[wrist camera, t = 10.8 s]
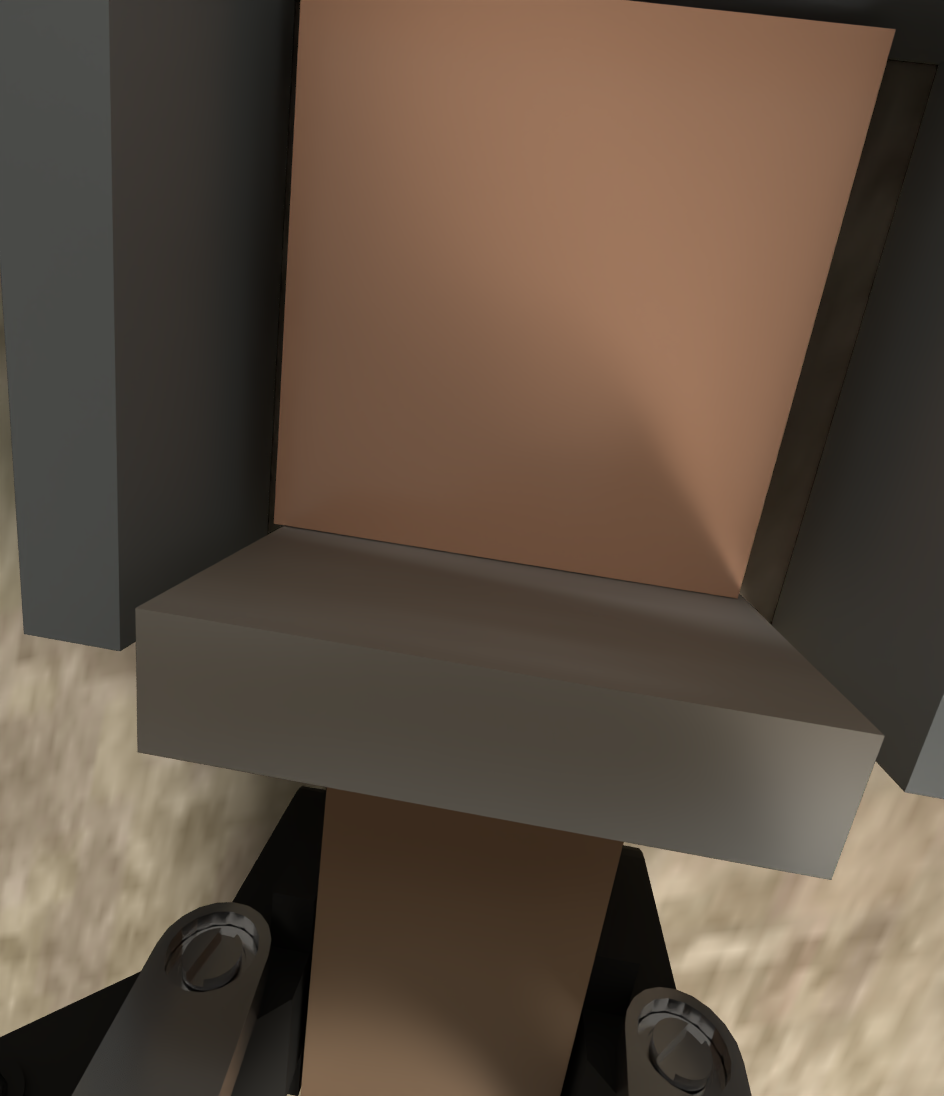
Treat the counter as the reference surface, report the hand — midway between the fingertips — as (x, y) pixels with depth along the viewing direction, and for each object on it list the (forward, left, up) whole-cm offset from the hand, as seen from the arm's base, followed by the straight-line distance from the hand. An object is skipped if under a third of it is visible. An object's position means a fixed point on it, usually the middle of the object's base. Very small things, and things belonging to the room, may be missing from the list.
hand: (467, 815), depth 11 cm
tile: (0, -9, -1) cm, 9 cm away
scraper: (0, +3, -1) cm, 3 cm away
